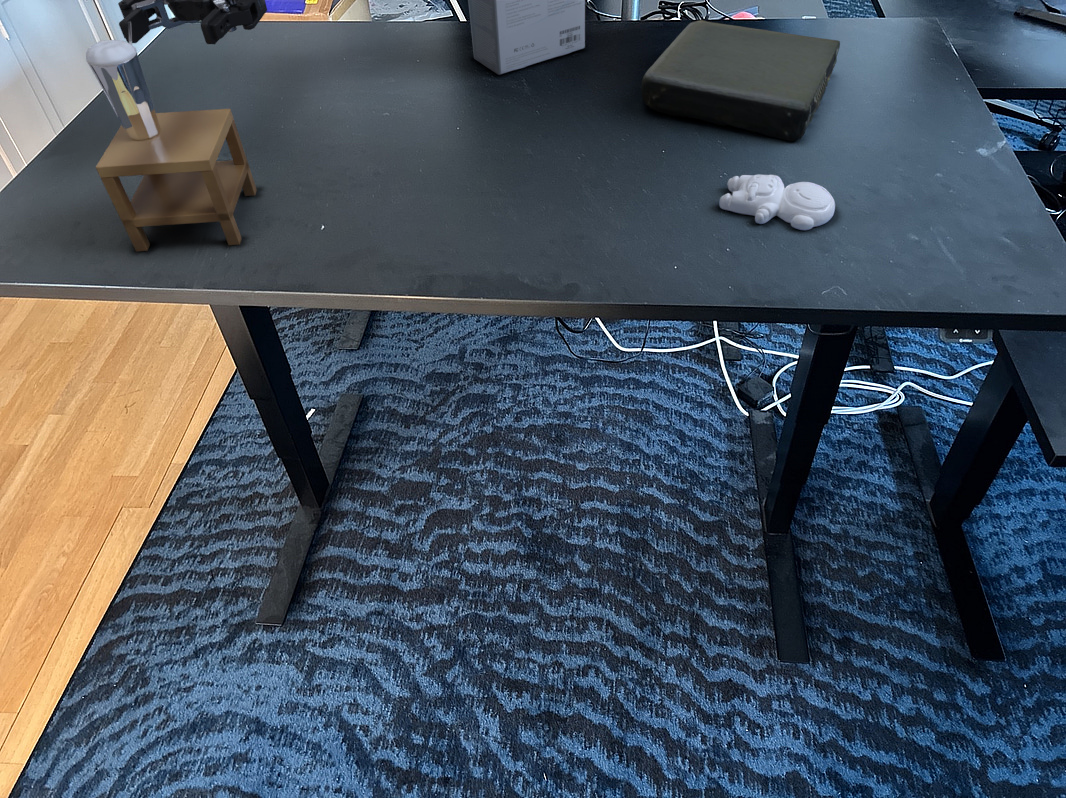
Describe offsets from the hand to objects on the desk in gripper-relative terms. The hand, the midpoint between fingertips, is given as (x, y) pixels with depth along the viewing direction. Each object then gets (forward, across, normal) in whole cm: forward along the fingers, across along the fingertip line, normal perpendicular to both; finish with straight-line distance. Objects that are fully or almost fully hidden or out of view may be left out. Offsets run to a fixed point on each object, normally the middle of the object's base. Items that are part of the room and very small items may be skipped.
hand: (166, 34), depth 78 cm
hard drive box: (-39, +32, +18) cm, 54 cm away
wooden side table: (+7, 0, +18) cm, 19 cm away
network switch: (-27, +62, +18) cm, 70 cm away
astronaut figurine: (0, +64, +18) cm, 66 cm away
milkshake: (+6, -2, +8) cm, 10 cm away
